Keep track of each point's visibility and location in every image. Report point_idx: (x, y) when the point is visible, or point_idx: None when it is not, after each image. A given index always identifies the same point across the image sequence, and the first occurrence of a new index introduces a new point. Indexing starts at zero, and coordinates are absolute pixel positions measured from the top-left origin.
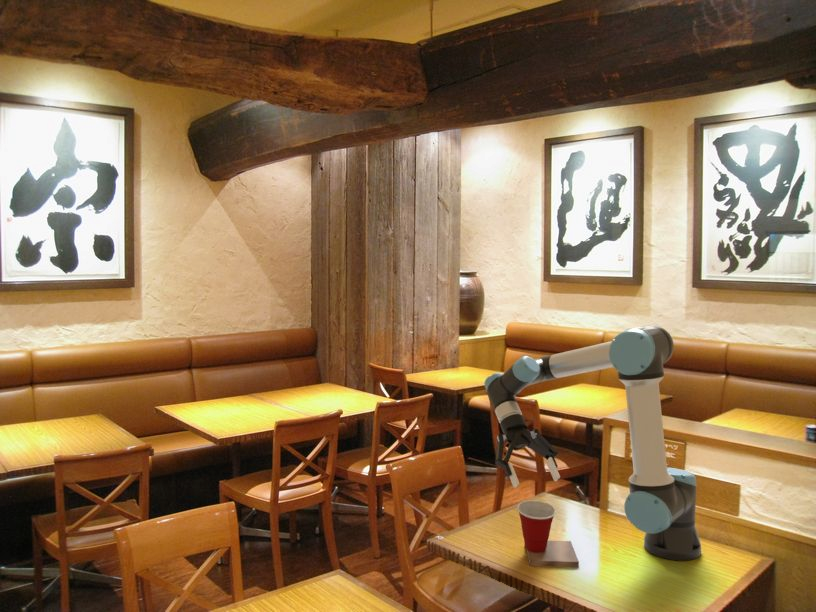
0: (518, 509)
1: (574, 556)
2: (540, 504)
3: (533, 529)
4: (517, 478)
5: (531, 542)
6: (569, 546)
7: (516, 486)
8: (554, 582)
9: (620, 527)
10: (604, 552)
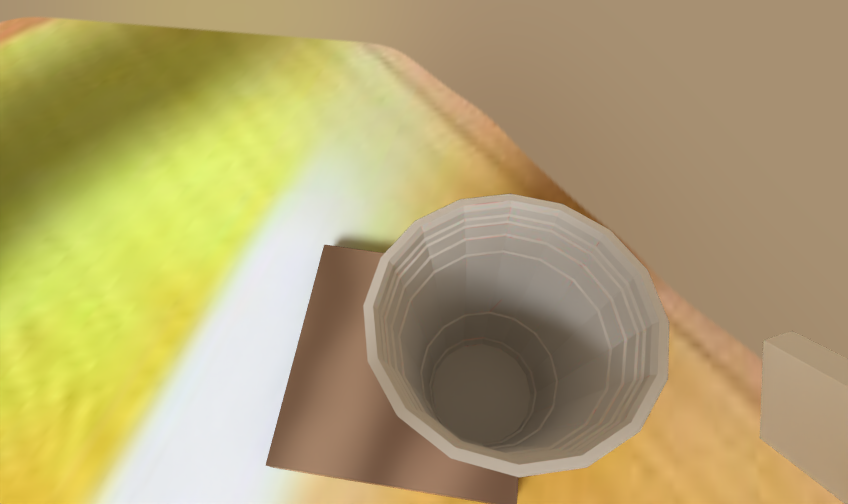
0: (659, 308)
1: (321, 292)
2: (452, 440)
3: (531, 273)
4: (827, 373)
5: (521, 327)
6: (301, 397)
7: (767, 411)
8: (460, 163)
9: None
10: (142, 377)
